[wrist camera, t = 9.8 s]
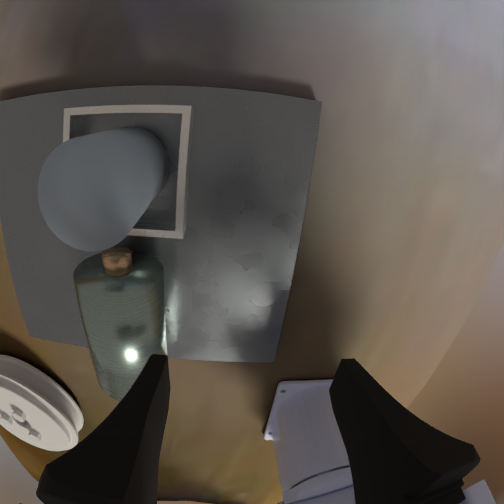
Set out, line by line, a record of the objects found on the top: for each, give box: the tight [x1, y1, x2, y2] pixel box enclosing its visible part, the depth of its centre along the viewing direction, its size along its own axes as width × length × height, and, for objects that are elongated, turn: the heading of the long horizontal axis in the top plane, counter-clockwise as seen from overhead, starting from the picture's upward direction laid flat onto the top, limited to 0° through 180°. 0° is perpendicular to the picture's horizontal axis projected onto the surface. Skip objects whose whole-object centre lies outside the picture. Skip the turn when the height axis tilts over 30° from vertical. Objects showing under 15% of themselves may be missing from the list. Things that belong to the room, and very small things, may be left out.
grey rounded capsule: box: [38, 127, 168, 252], centre depth 13 cm, size 4×4×6 cm
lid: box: [0, 355, 84, 451], centre depth 23 cm, size 13×13×5 cm
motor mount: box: [0, 85, 322, 401], centre depth 16 cm, size 18×20×6 cm
